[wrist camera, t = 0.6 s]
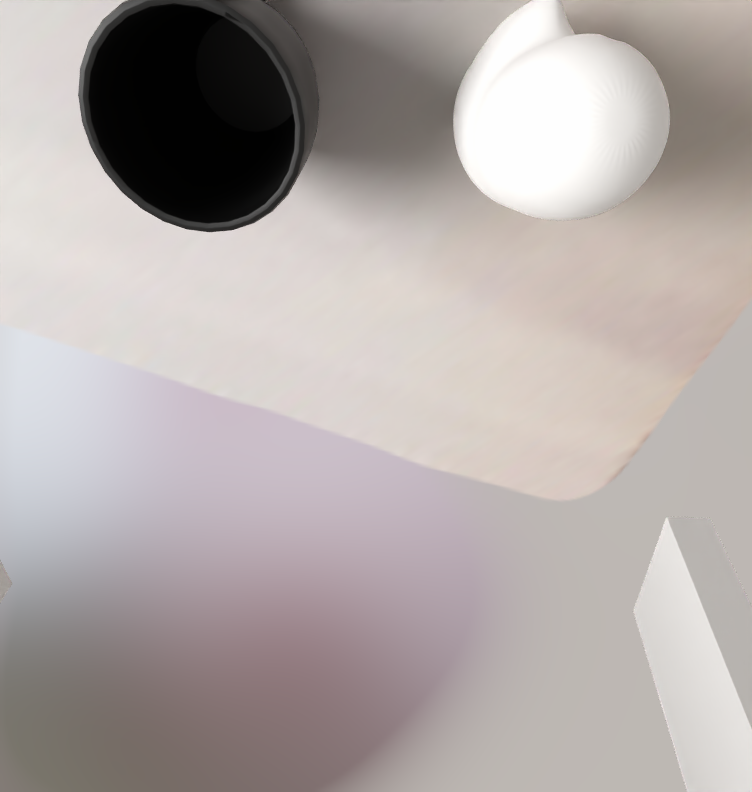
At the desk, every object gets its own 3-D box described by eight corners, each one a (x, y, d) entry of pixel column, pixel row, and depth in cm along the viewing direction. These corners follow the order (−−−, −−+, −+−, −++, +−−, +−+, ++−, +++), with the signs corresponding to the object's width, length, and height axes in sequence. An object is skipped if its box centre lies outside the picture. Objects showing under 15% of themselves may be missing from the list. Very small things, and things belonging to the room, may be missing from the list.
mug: (370, -106, 27) (347, -118, 19) (320, 180, 34) (288, 255, 26) (170, -162, 26) (64, -198, 19) (161, 140, 33) (80, 206, 26)
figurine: (645, 74, 30) (748, 145, 20) (529, 205, 34) (569, 317, 24) (529, -34, 28) (582, -12, 18) (419, 118, 32) (415, 203, 22)
